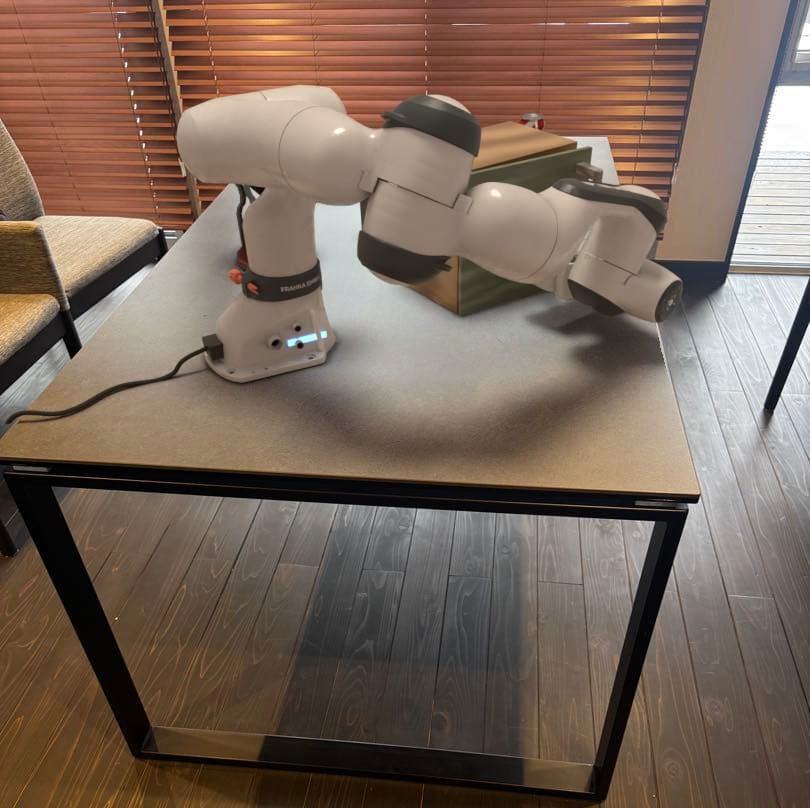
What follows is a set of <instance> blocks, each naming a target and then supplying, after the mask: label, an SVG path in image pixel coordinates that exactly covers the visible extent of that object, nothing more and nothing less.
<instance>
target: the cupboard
mask: <svg viewBox="0 0 810 808" xmlns="http://www.w3.org/2000/svg"><path fill="white" fill-rule="evenodd" d="M574 149H578V140H575V139H571V138H567V137H564V136H561V135H558V134H555V133H551V132H548V131H546V130H545V131H542V130H538V129H535V128H532V127H529V126H525V125H522V124H519V122H516V121H512V120H507V121H505V122H504V121H503V122H501V123H495V124H492V125H487V126H483V127H481V142H480V148H479V153H478V157H475V158H474V162H473V167H472V171H471V172H474V171H479V170H483V169H488V168H492V167H497V166H501V165H506V164H510V163H515V162H519V161H524V160H528V159H533V158H537V157H542V156H546V155H551V154H555V153H560V152H565V151H569V150H574ZM398 187H399V186H398ZM400 188H401V187H400ZM405 190H406V189H405ZM410 192H411V191H410ZM415 194H416V193H415ZM427 199H428V198H427ZM432 201H433V200H432ZM437 203H438V202H437ZM442 205H443V204H442ZM444 206H445V205H444ZM447 207H448V206H447ZM449 208H450V207H449ZM445 264H448V265H449V266H451V267H452V269H451V270H450V272H446V271H442V272H441V273H439V274H438V275H437V276H436V277H435V278H433V279H432V280H430V281H428V282H426V283H423V284H420V285H417V286H413V285H406V286H407V287H409V288H410V289H412V290H414V291H415V292H418V293H419V294H421V295H423V296H424V297H426V298H428V299H429V300H431V301H433V302H435V303H437V304H438V305H440V306H442V307H443V308H445V309H447V310H449V311H451V312H452V313H454V314H455V315H459V314H458V284H459V256H452V257H451V258H450V259H449V260H447V261H446V262H445Z"/></svg>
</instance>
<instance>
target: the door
mask: <svg viewBox="0 0 810 808" xmlns="http://www.w3.org/2000/svg"><path fill="white" fill-rule="evenodd" d="M592 154H593V146H589V145H587V146H582V147H577V149H574V150H569V151H565V152H560V153H555V154H551V155H546V156H542V157H537V158H533V159H528V160H524V161H519V162H515V163H510V164H506V165H501V166H497V167H492V168H488V169H483V170H479V171H474V172H471V175H470V179H469V183H468V186H467V190H466V193H467V192H468V191H469V190H471V189H472V188H474V187H475V186H477V185H479V184H482V183H487V182H499V183H507V184H512V185H516V186H520V187H523V188H526V189H529V190H531V191H533V192H535V193H540V192H542V191H544V190H546V189H548V188H550V187H552V185H553V184H554V183H556V182H557V181H558V180H560V179H565V178H575V179H584V180H590V181H596V182H602V183H603V177H604V169H603V168H600V167H598V166H595V165H593V164H592V163H591V162H592ZM466 193H465V195H466ZM544 292H547V291H546V290H543V289H541V288H539V287H537V286H536V285H534V284H526V283H519V282H515V281H511V280H508V279H505V278H502V277H500V276H497V275H495V274H493V273H491V272H489V271H487V270H485V269H483V268H482V267H480V266H478V265H477V264H475V263H473V262H471V261H470V260H468V259H465V258H463V257H460V256H459V284H458V314H457V315H458V316H460V317H463V316H466V315H469V314H473V313H476V312H480V311H483V310H486V309H487V310H488V309H490V308H493V307H497V306H500V305H503V304H504V305H505V304H506V303H509V302H514V301H517V300H520V299H525V298H527V297H530V296H533V295H537V294H540V293H544Z"/></svg>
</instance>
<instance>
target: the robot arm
mask: <svg viewBox="0 0 810 808" xmlns="http://www.w3.org/2000/svg"><path fill="white" fill-rule="evenodd" d="M348 115H349V114H348V112H347V109H346V107H345V105H344V103H343V101H342V99H341V98H340V97H339V95H338V94H337V93H336V92H335V91H334V90H333V89H332V88H330V87H328V86H321V85H312V84H311V85H310V84H295V85H289V86H282V87H276V88H270V89H264V90H258V91H252V92H244V93H239V94H233V95H225V96H221V97H220V96H219V97H214V98H212V99H209V100H206V101H204V102H202V103H199V104H196V105H194V106H191V107H189V108H187V109H185V110H184V111H183V112H182V114H181V116H180V118H179V121H178V124H177V129H176V145H177V150H178V153H179V154H178V155H179V156H180V158H181V161H182V162H183V164H184V166H185V167H186V169H187V170H188V172H189V173H190V174H191V175H192V177H194V178H195V179H197V180H198V181H199V182H201V183H203V184H228V185H229V184H232V185H235V184H242V185H250V186H257V187H266V188H265V190H264V191H263V193H262V194H261V195H259V196H257V198H256V200H254V201H253V202H252V203H251V204H250V203H249V205H248V206H247V208H246V210H245V211H244V215H243V216H242V218H243V223H242V227H243V233H244V239H245V245H246V251H247V257H248V263H249V264H248V266H247V269H246V270H245V271H244V273H242V272H241V271H240V270H239V269H237V268H233V269H231V270H229V272H228V278H229V281H231V282H233V283H234V284H235V285H240V286H241V291H240V293H239V294H238V295H237V296H236V298H235V299H234V300H233V301H232V302H231V304H229V306H228V307H227V308H226V309H225V310H224V311H223V312H222V313H221V314H220V315H219V317H218V318H217V320H216V322H215V328H214V333H212V334H207V335H204V336H201V340H202V345H203V347H200V348H199V349H197V350H194V351H192V352H190V353H188V354H187V355H185V356H184V357H182V358H181V359H179V360H178V362H177V363H176V365H175V367H174V368H173V370H171V371H170V372H169V373H167V374H164V375H163V376H159V377H155V378H150V379H143V380H141V379H140V380H134V381H127V382H123V383H119V384H116V385H113V386H110V387H109V388H106V389H103V390H102V391H99V392H98V393H96V394H95V395H93V396H91V397H89V398H88V399H86V400H85V401H83V402H81V403H79V404H77V405H74V406H72V407H69V408H66V409H62V410H57V411H56V410H55V411H48V410H47V411H46V410H44V411H43V410H31V409H27V410H25V409H24V410H18V411H16V412H14V413H13V414H10V415H9V417H8V418H7V419H6V420H5V422H4V425H11V424H12V423H13V422H14V421H15V420H16V419H17V418H20V417H22V416H39V417H61V416H66V415H69V414H72V413H74V412H78V411H79V410H82V409H83V408H85V407H87V406H89V405H91V404H92V403H95V402H96V401H98V400H99V399H101V398H103V397H105V396H106V395H109V394H111V393H113V392H115V391H118V390H122V389H125V388H129V387H136V386H143V385H150V384H154V383H160V382H165V381H167V380H169V379H171V378H172V377H175V376H176V375H177V374H178V373H179V371H180V369H181V367H182V366H183V364H185V363H186V362H188V361H189V360H191V359H192V358H194V357H196V356H198V355H201V354H204V359H205V361H206V364H207V365H208V366H209V368H210V369H212V371H213V372H215V373H216V374H217V375H219V376H220V377H221V378H224V379H225V380H228V381H231V382H234V383H239V384H241V383H248V382H251V381H255V380H260V379H265V378H268V377H272V376H276V375H281V374H284V373H285V374H286V373H289V372H293V371H297V370H301V369H305V368H309V367H314V366H318V365H321V364H324V363H325V362H326V361H327V356H328V355H327V354H328V353H329V351H330V350H331V349H332V348H333V346H334V345H335V343H336V336H335V333H334V332H333V329H332V326H331V323H330V321H329V318H328V314H327V310H326V307H325V302H324V296H323V292H322V291H323V275H322V268H321V262H320V261H321V260H320V258H319V257H317V244H316V232H315V212H316V203H317V204H321V205H324V206H325V205H326V206H333V207H349V206H354V205H358V204H360V202H361V201H363V200H364V199H365V198H367V197H368V196H369V195H370V197H369V200H368V204H367V209H366V213H365V218H364V224H363V229H362V228H361V229H360V230H359V231H358V235H357V245H356V257H357V259H358V261H359V262H360V264H361V265H362V266H363V267H365V268H366V269H367V270H368V271H369V272H370V273H371V274H372V275H373V276H374V277H376V278H377V279H378V280H380V281H382V282H385V283H386V284H389V285H393V286H400V287H404V286H407V285H413V286H417V285H420V284H423V283H426V282H428V281H430V280H432V279H433V278H435V277H436V276H437V275H438V274H439V273H441V272H442V271H446V272H450V270H451V269H452V267H451V266H449V265H448V264H445V262H446V261H447V260H449V259H450V258H451V257H452V256H460V257H463V258H465V259H468V260H470V261H471V262H473V263H475V264H477V265H478V266H480V267H482V268H483V269H485V270H487V271H489V272H491V273H493V274H495V275H497V276H500V277H502V278H505V279H508V280H511V281H515V282H519V283H526V284H534V285H536V286H537V287H539V288H541V289H543V290H546V291H545V292H549V293H555V297H556V299H559V300H561V301H569V300H575V301H576V302H578V303H580V304H582V305H584V306H587V307H590V308H592V309H593V310H594V311H596V312H597V313H599V314H601V315H603V316H606V317H614V316H619V315H622V314H626V315H628V316H631V317H634V318H636V319H639V320H642V321H645V322H648V323H652V324H662V323H663V322H664V321H666V320H667V319H668V318H670V316H672V314H673V313H674V311H675V310H676V308H677V306H678V304H679V302H680V300H681V298H682V295H683V290H684V284H683V280H682V279H681V278H680V277H678V276H677V275H676V274H675V273H673V272H672V271H671V270H669V269H667V268H666V267H664V266H662V265H661V264H659V263H657V262H654V261H652V260H650V259H648V255H649V253H650V251H651V250H652V247H653V245H654V243H655V241H656V240H657V239H658V238H659V236H660V234H661V232H663V231H662V230H663V229H664V227H665V226H666V224H667V223H668V216H667V215H668V214H667V210H666V206H665V202H664V200H663V199H662V198H660V196H659V195H658V194H657V193H655V192H654V191H652V190H650V189H648V188H645V187H643V186H641V185H636V184H613V183H608V182H607V183H606V182H603V181H602V182H596V181H593V180H591V179H589V180H584V179H575V178H565V179H560V180H558V181H557V182H556V183H554V184H553V185H552V187H550V188H548V189H546V190H544V191H542V192H540V193H535V192H533V191H531V190H529V189H526V188H523V187H520V186H516V185H512V184H507V183H499V182H487V183H482V184H479V185H477V186H475V187H474V188H472V189H471V190H469V191H468V192H467V193H466V190H467V186H468V183H469V179H470V175H471V171H472V167H473V162H474V158H475V157H478V153H479V148H480V142H481V128H482V126H481V124H480V122H479V120H478V118H477V117H476V116H475V115H473V114H472V113H471V112H470V110H468V109H467V107H466V106H465V105H463V104H462V103H461V102H459V101H458V100H456V99H454V98H452V97H450V96H446V95H442V94H423V93H420V94H416V95H414V96H411V97H409V98H406V99H404V100H402V101H401V102H400V103H399V104H397V105H396V106H395V107H394V108H393V109H392V110H391V111H388V110H383V111H382V112H381V114H380V118H382V119H383V120H384V121H385V122H384V124H382V125H381V126H380V128H378V129H373V128H371V127H368V126H366V125H364V124H362V123H360V122H359V121H357V120H355V119H354V118H352V117H351V116H348ZM398 186H399V187H398ZM400 187H401V188H400ZM405 189H406V190H405ZM410 191H411V192H410ZM415 193H416V194H415ZM465 193H466V195H465ZM427 198H428V199H427ZM432 200H433V201H432ZM437 202H438V203H437ZM442 204H443V205H442ZM444 205H445V206H444ZM447 206H448V207H447ZM449 207H450V208H449Z"/></svg>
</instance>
